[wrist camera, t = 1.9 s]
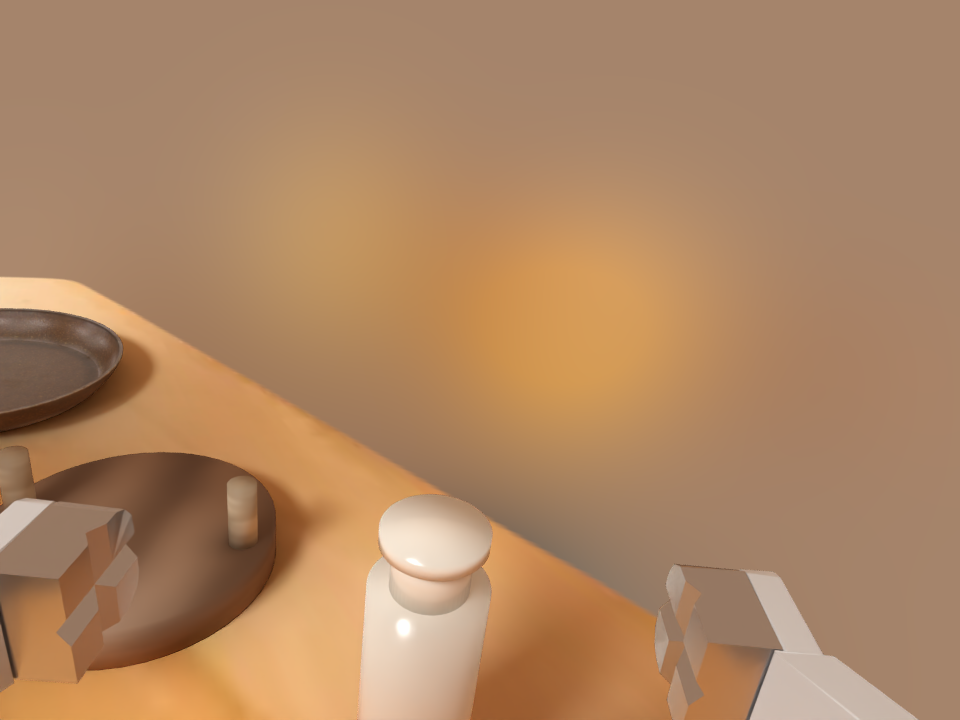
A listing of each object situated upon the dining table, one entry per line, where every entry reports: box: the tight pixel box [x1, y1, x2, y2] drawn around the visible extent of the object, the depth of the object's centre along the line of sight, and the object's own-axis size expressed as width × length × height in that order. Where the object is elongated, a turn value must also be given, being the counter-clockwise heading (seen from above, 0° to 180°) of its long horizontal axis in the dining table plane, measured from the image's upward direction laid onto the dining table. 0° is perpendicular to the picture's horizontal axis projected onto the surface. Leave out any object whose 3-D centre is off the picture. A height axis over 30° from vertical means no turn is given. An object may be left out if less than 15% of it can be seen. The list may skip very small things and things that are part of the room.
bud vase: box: [357, 494, 492, 720], centre depth 27 cm, size 5×5×15 cm
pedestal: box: [0, 446, 276, 670], centre depth 40 cm, size 16×16×6 cm
